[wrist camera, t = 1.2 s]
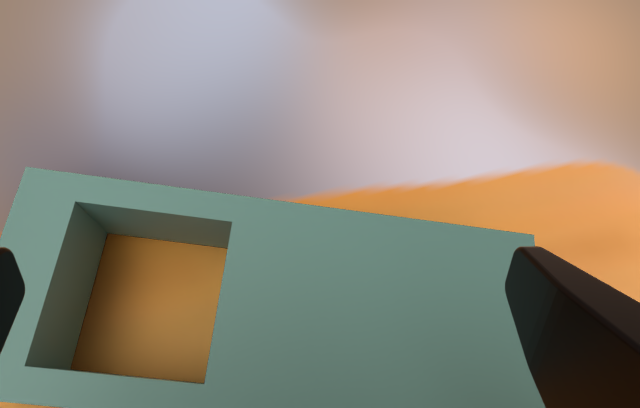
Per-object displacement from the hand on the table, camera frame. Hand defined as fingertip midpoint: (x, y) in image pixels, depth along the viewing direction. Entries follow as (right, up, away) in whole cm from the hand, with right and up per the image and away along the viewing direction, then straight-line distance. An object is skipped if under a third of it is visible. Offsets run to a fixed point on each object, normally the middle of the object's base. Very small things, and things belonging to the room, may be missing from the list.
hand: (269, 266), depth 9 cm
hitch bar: (-1, -4, +12) cm, 13 cm away
